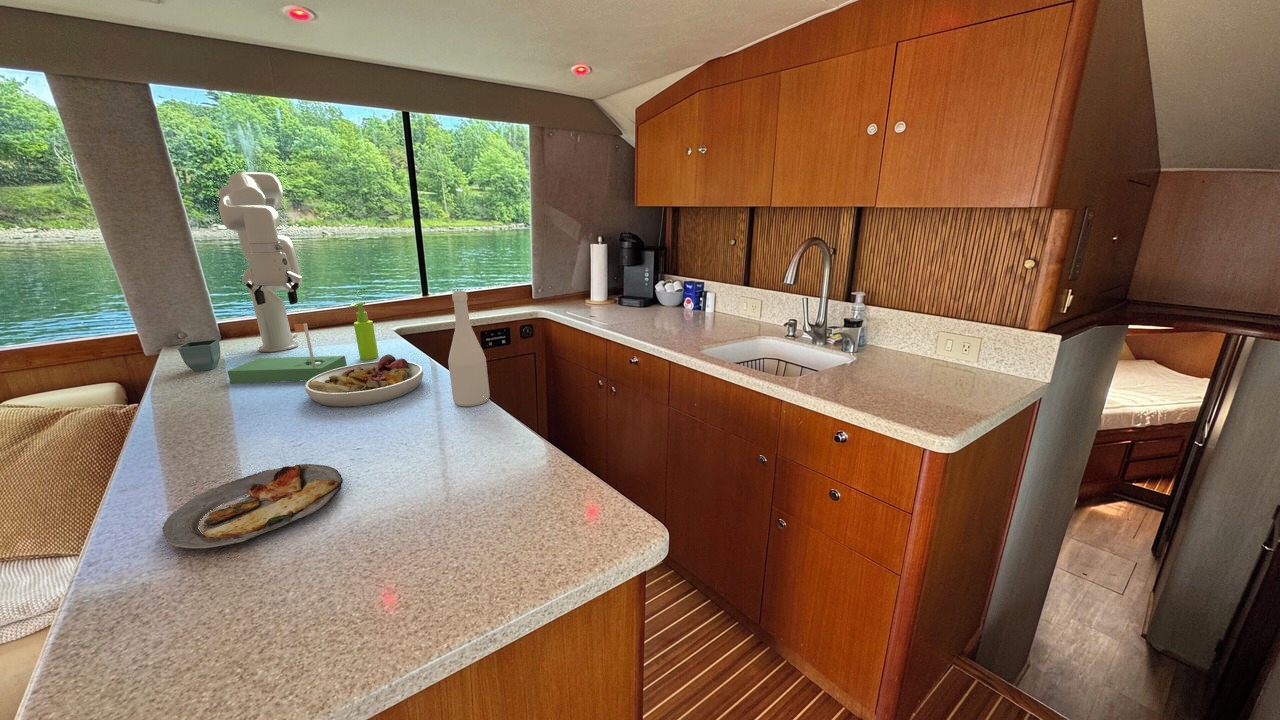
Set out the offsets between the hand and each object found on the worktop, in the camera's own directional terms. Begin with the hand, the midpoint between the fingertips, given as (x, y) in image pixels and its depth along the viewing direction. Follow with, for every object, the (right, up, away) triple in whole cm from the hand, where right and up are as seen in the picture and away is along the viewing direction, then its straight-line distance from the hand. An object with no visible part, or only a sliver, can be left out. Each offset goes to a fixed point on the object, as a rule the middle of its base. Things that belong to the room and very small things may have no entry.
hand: (277, 303), depth 157 cm
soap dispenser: (+17, -17, +21) cm, 32 cm away
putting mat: (+2, -23, +3) cm, 23 cm away
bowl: (+36, -27, -12) cm, 47 cm away
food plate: (+49, -44, -70) cm, 96 cm away
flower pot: (-32, -21, +11) cm, 40 cm away
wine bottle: (+69, -29, -22) cm, 78 cm away
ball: (+11, -20, +3) cm, 23 cm away
